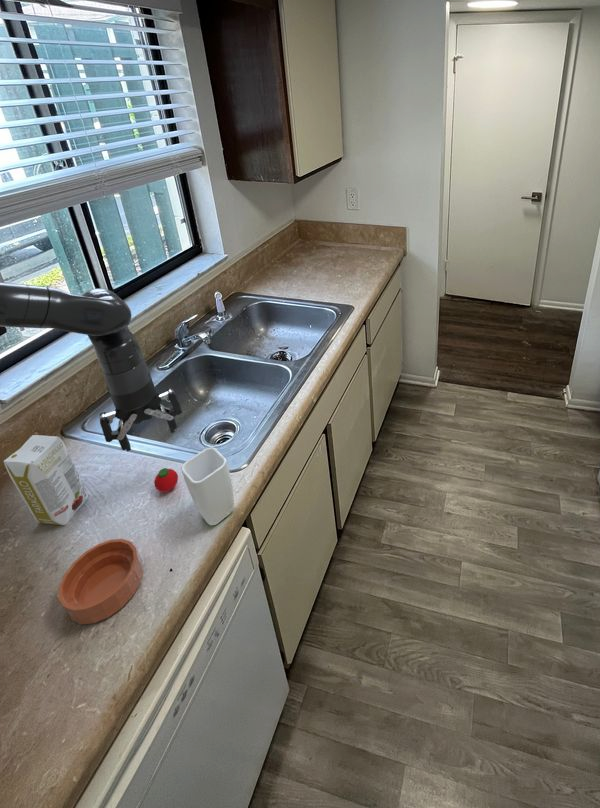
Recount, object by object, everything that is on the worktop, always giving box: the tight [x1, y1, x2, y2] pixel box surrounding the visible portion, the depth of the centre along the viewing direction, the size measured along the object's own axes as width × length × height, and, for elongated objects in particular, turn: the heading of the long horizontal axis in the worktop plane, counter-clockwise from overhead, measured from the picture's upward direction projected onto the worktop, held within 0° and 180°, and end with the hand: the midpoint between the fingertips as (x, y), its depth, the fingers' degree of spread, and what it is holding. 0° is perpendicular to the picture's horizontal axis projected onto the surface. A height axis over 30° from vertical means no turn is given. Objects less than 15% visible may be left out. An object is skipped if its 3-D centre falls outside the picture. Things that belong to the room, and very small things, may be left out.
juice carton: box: [3, 434, 89, 526], centre depth 92 cm, size 8×9×19 cm
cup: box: [180, 446, 235, 526], centre depth 92 cm, size 7×7×15 cm
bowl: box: [57, 538, 145, 625], centre depth 81 cm, size 12×12×5 cm
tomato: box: [153, 467, 179, 493], centre depth 100 cm, size 5×5×5 cm
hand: (151, 439), depth 95 cm, fingers open, 8 cm apart
